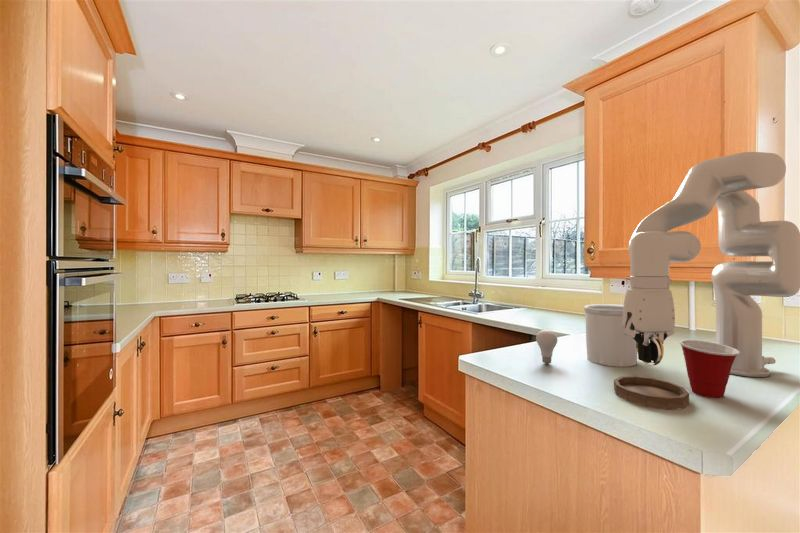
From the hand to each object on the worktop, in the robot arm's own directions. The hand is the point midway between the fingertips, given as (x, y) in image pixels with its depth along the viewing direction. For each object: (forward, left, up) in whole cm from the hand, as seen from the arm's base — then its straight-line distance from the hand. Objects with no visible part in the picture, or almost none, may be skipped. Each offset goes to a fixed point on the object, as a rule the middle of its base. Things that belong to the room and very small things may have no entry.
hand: (649, 360), depth 81 cm
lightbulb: (+11, -27, -9) cm, 31 cm away
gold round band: (0, 0, -1) cm, 1 cm away
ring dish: (0, 0, -9) cm, 9 cm away
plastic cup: (-15, 0, -9) cm, 17 cm away
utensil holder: (-11, -28, -9) cm, 32 cm away
